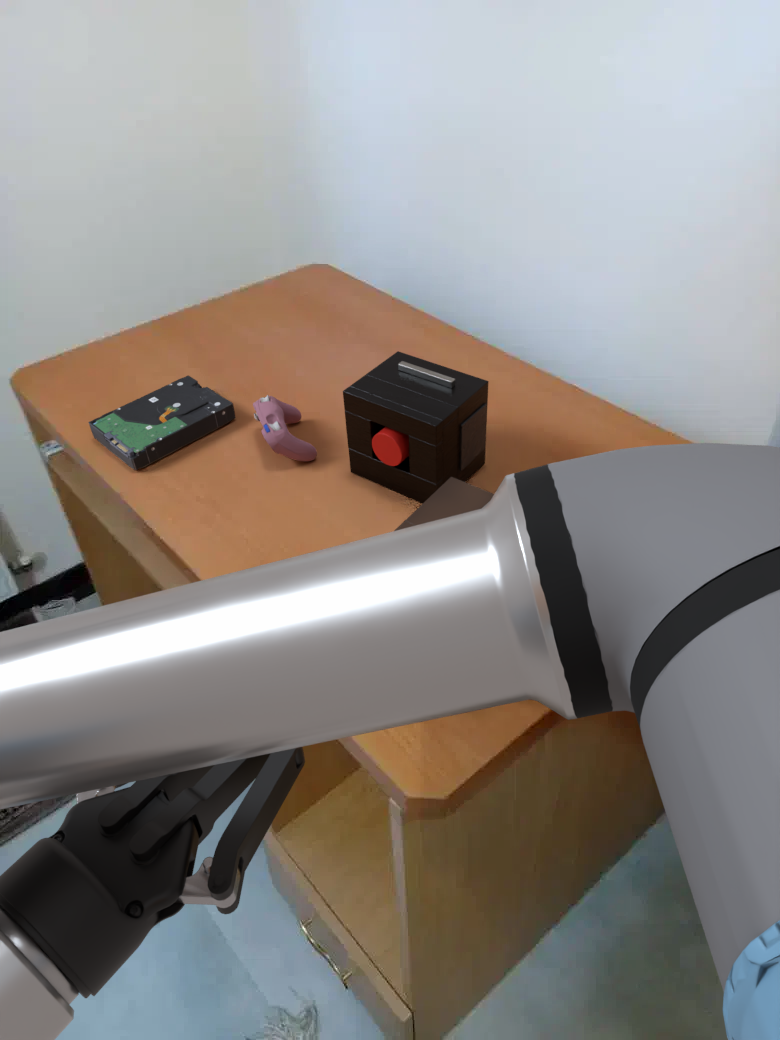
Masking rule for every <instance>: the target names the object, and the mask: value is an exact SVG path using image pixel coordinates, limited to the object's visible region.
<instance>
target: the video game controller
mask: <svg viewBox="0 0 780 1040" xmlns="http://www.w3.org/2000/svg"><path fill="white" fill-rule="evenodd" d="M252 407H253V409H254V411H255V412H254V413H253V416H254V420H255V421H256V422H258V423H260V424H261V426H262V429H261V432H260V433H261V434H262V436H263V439H264V440H265V441H266V443H267V444H268V446H269V447H270V448H271V450H272V451H273V452H274V453H276V454H277V455H282V456H284V457H286V458H289V459H292V460H294V461H298V462H310V461H315V459H316V457H317V456H318V450H317V448H316V447H315V446H314V445H312V444H311V443H310V442H307V441H305V440H303V439H300V438H299V437H296V436H294V435H293V434H292V433H290V432H289V429H288V426H287V425H288V424H289V425H290V424H297V423H300V421H301V420H302V413H301V411H300V410H299V409H298V408H297V407H296V406H294V405H292V404H289V403H286V402H284V401H281V400H280V399H278V398H277V397H274V396H273V395H269V394H267V395H266V396H264V397H260V398H259V399H257V400H256V401H254V402H252Z"/></svg>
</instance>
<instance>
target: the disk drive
mask: <svg viewBox="0 0 780 1040" xmlns="http://www.w3.org/2000/svg"><path fill="white" fill-rule="evenodd" d="M234 407H235V406H234V403H233V402H232V401H231V400H229V399H227V398H226V397H223V396H222V395H221V394H219V393H218V392H216V391H215V390H213V389H211V388H209V387H208V386H206V387H205V386H202V385H201V384H200V383H199V381H198V380H197V379H195V378H194V377H192V376H191V375H186V376H184V377H181V378H177V380H174V381H172V382H171V383H168V384H166V385H164V386H162V387H160V388H158V389H156V390H153V391H152V392H149V393H147V394H145V395H143V396H141V397H139V398H136V399H135V400H132V401H130V402H128V403H125V404H123V405H121V406H120V407H117V408H115V409H113V410H110V411H108V412H106V413H104V414H102V415H101V416H99V417H96V418H94V419H92V420H90V421H88V425H89V428H90V431H91V434H92V437H93V439H95V440H96V441H97V442H99V443H100V445H101V446H103V447H105V448H106V449H107V450H108V451H109V452H111V453H112V455H115V456H116V457H117V458H118V459H119V460H121V461H122V462H123V463H124V464H126V465H127V466H128V467H130V469H133V470H134V471H138V470H139V469H143V468H145V467H147V466H149V465H151V464H153V463H154V462H156V461H159V460H161V459H162V458H164V457H166V456H168V455H170V454H173V453H174V452H176V451H178V450H179V449H181V448H183V447H185V446H187V445H189V444H191V443H193V442H194V441H197V440H199V439H200V438H202V437H205V436H206V435H208V434H210V433H212V432H214V431H216V430H218V429H219V428H222V427H223V426H224V425H227V424H229V423H231V422H232V421H233V420H235V419H236V412H235V408H234Z"/></svg>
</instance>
